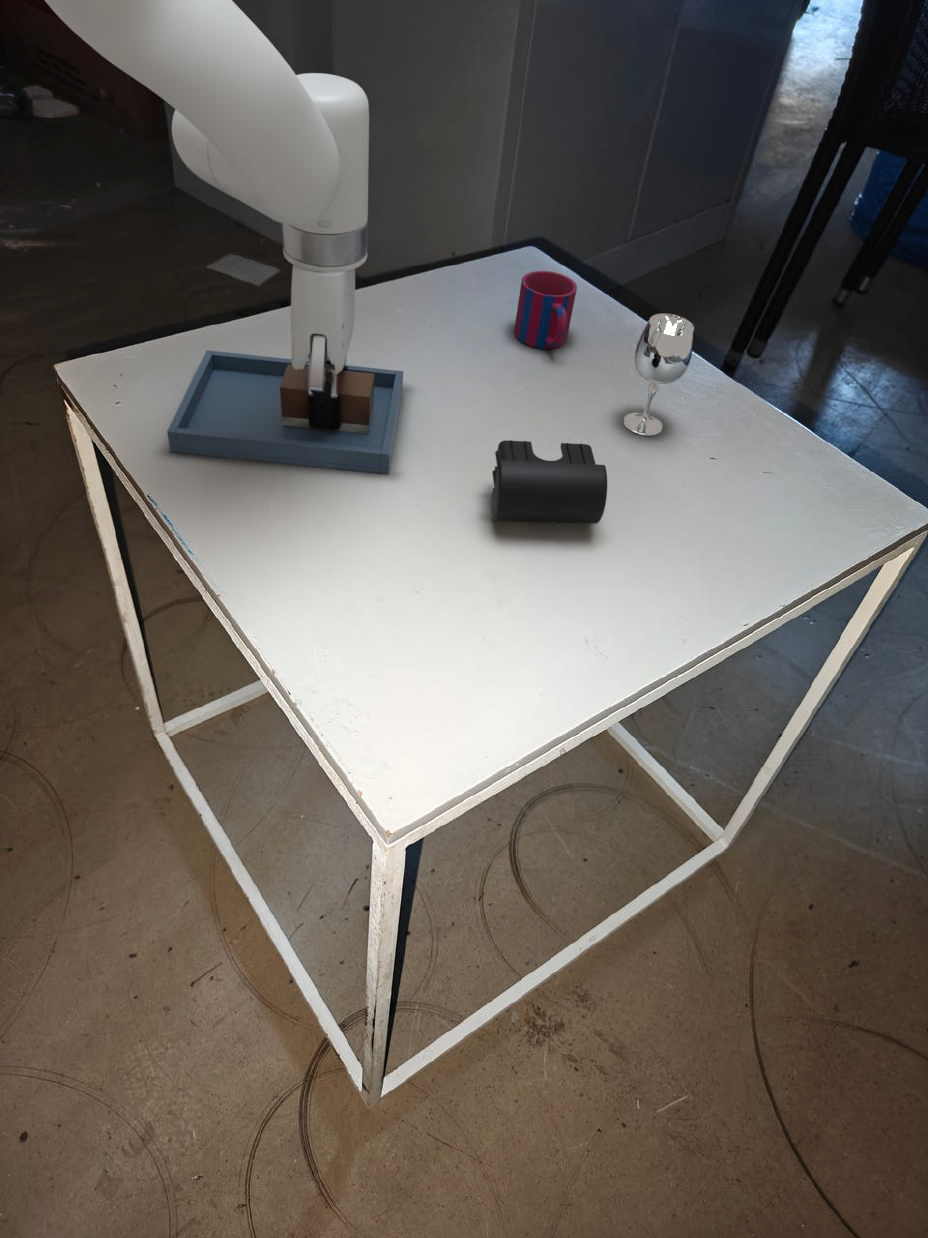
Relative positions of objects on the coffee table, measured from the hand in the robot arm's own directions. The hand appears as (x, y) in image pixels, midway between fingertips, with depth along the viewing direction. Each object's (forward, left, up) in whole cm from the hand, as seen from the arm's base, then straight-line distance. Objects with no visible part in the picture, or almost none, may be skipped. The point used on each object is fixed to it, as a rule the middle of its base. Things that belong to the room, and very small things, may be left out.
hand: (328, 411), depth 90 cm
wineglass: (+34, +6, -2) cm, 35 cm away
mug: (+23, +22, -2) cm, 32 cm away
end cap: (+22, -12, -2) cm, 25 cm away
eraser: (0, 0, -1) cm, 1 cm away
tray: (-4, 0, -1) cm, 4 cm away
